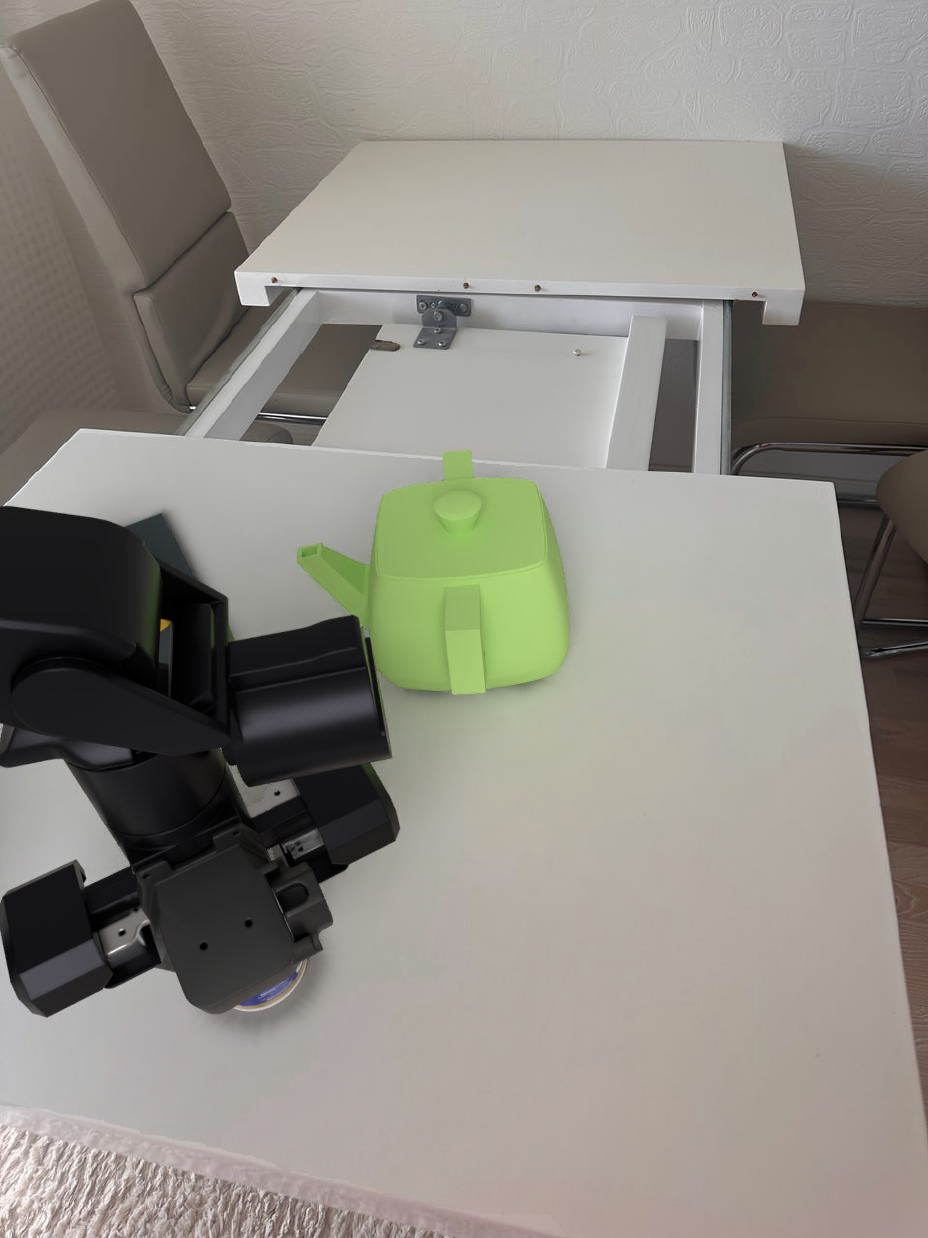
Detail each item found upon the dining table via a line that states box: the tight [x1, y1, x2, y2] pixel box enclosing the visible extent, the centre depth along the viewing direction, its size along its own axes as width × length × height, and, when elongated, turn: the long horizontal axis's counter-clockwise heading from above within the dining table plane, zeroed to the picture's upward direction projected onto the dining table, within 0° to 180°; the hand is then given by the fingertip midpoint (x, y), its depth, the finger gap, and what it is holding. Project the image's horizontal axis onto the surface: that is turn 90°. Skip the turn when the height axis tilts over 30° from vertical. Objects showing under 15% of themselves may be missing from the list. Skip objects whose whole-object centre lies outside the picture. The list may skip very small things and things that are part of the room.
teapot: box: [295, 448, 570, 696], centre depth 67 cm, size 18×20×13 cm
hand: (247, 941), depth 53 cm, fingers closed on pill bottle, 6 cm apart
